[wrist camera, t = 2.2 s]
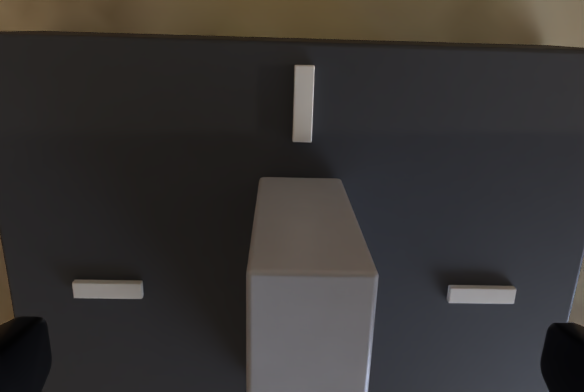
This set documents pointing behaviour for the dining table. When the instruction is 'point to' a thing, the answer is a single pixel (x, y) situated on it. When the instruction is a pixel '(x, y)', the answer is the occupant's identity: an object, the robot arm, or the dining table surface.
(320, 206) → the gray box
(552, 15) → the dining table surface
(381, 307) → the timer panel
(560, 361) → the robot arm
